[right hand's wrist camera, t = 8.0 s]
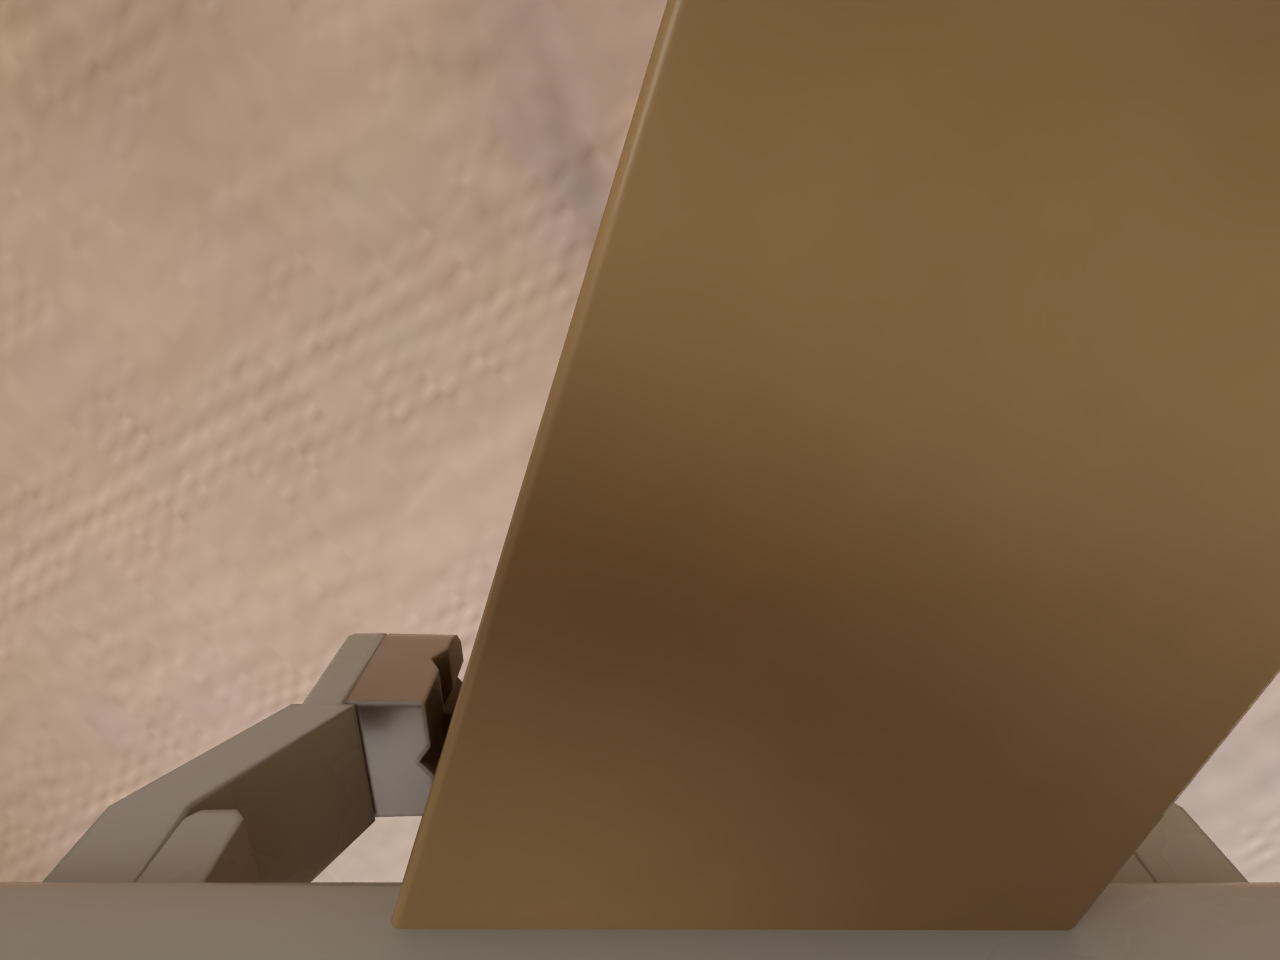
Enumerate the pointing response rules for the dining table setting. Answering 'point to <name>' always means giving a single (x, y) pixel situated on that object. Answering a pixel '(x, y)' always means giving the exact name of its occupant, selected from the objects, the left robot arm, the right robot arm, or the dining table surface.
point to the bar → (887, 479)
